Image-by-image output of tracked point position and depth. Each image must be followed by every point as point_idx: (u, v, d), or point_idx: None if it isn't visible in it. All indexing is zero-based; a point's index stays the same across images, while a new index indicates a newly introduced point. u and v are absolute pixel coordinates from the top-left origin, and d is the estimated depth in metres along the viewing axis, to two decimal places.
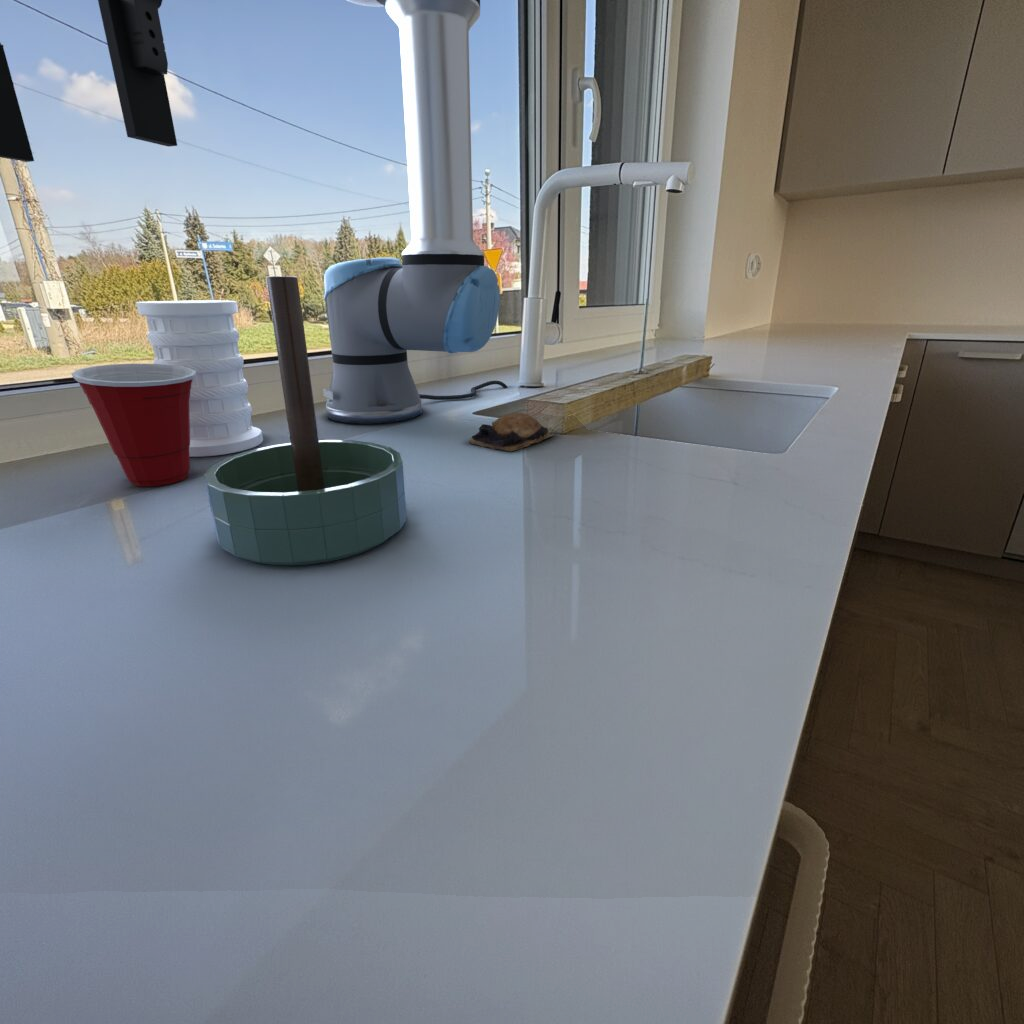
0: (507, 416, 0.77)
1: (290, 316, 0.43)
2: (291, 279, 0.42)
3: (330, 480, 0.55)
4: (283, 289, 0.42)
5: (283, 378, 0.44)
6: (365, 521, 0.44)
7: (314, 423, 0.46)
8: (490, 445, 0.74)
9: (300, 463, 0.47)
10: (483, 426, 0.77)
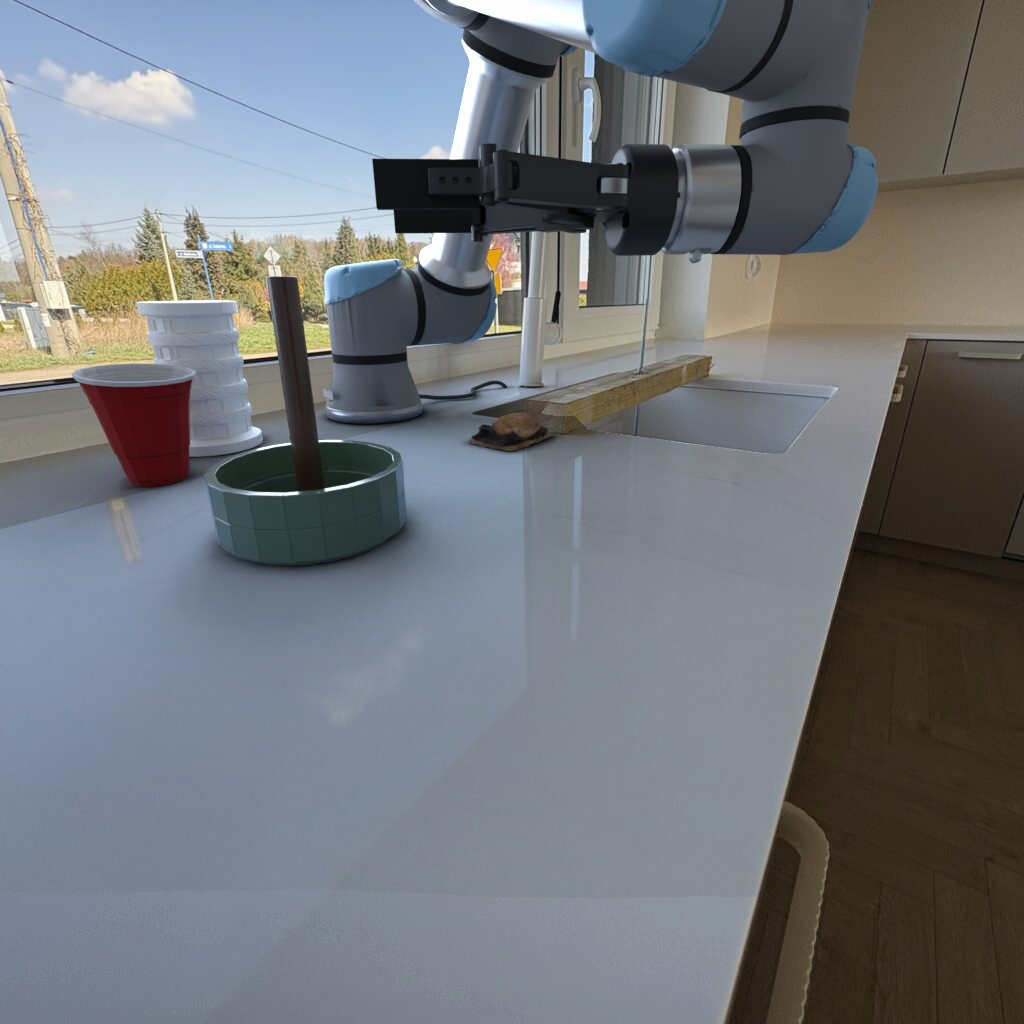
0: (507, 416, 0.77)
1: (290, 316, 0.43)
2: (291, 279, 0.42)
3: (330, 480, 0.55)
4: (283, 289, 0.42)
5: (283, 378, 0.44)
6: (365, 521, 0.44)
7: (314, 423, 0.46)
8: (490, 445, 0.74)
9: (300, 463, 0.47)
10: (483, 426, 0.77)
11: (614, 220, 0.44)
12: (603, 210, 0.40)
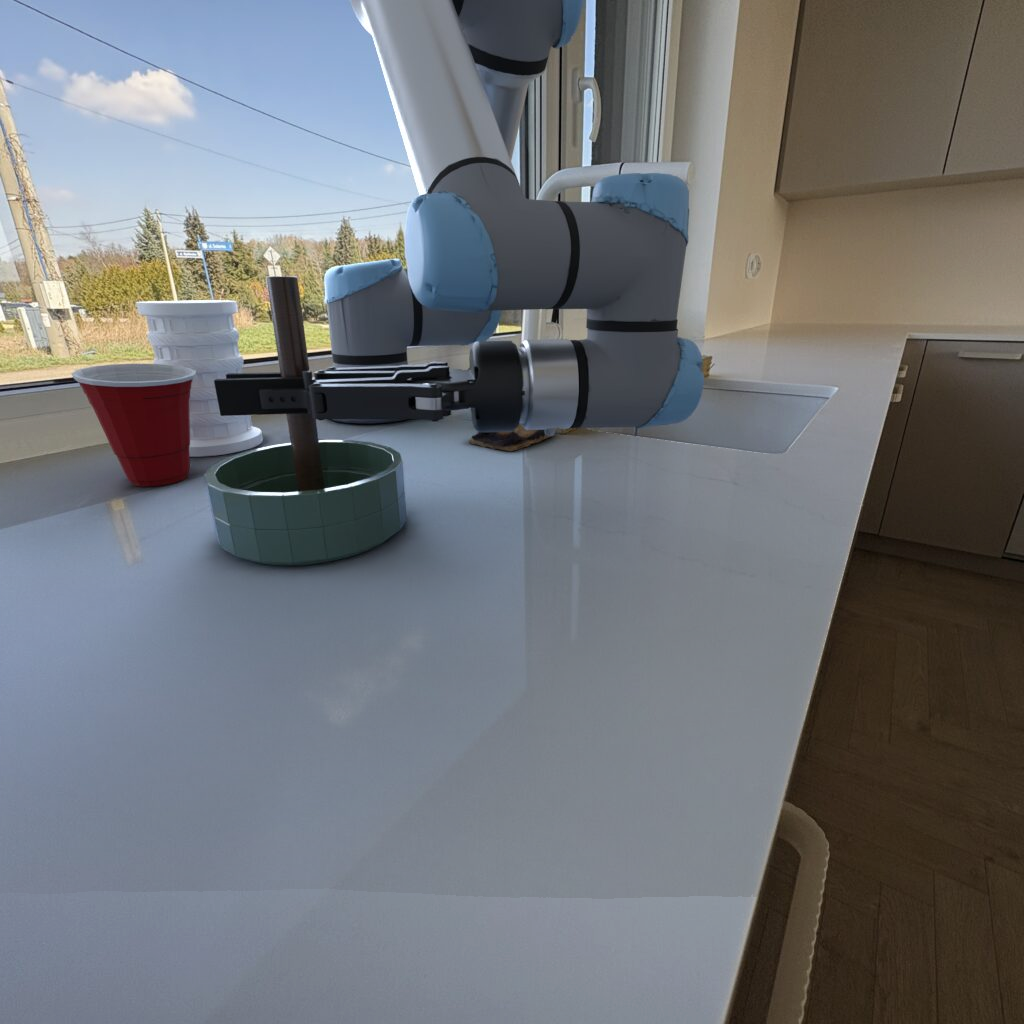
0: None
1: (290, 316, 0.43)
2: (291, 279, 0.42)
3: (330, 480, 0.55)
4: (283, 289, 0.42)
5: None
6: (365, 521, 0.44)
7: (314, 423, 0.46)
8: (490, 445, 0.74)
9: (300, 463, 0.47)
10: None
11: None
12: None
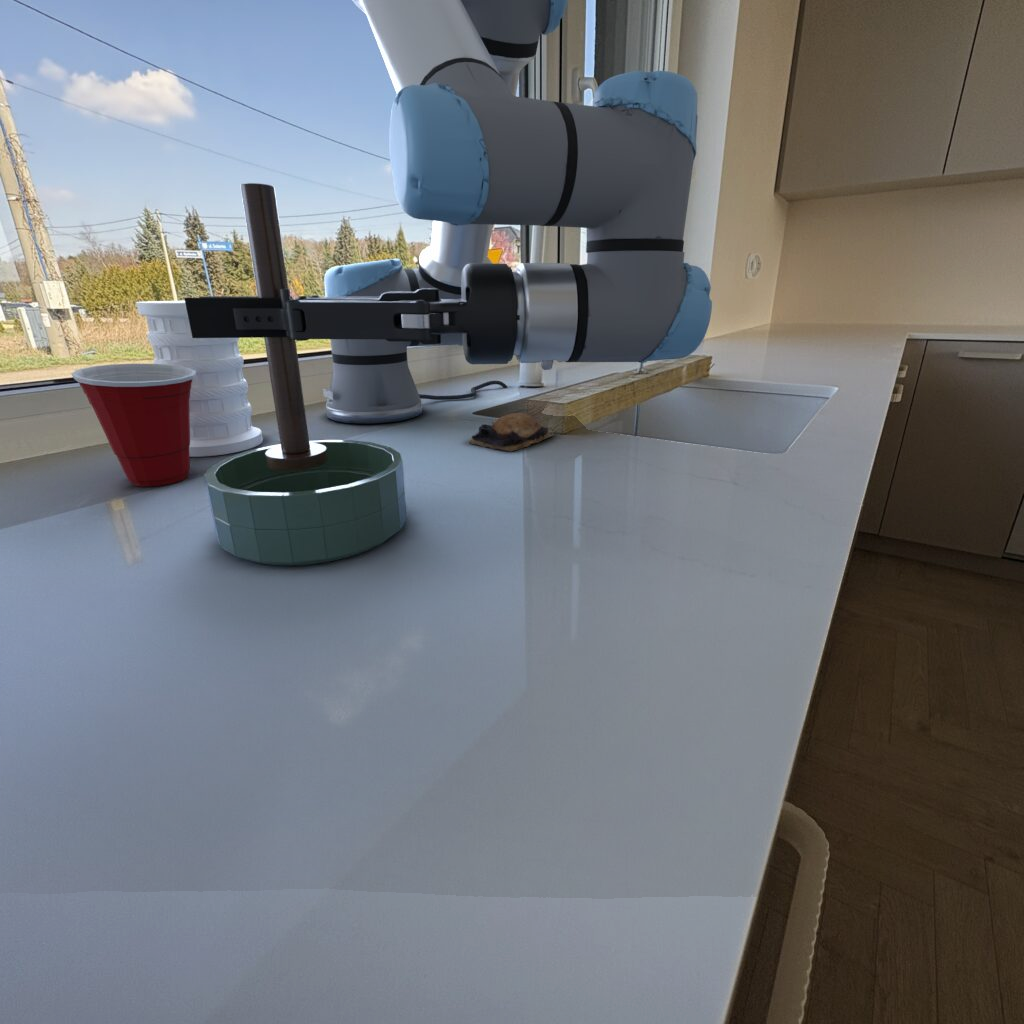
0: (507, 416, 0.77)
1: (266, 228, 0.39)
2: (267, 187, 0.39)
3: (330, 480, 0.55)
4: (258, 198, 0.39)
5: None
6: (365, 521, 0.44)
7: (294, 351, 0.43)
8: (490, 445, 0.74)
9: (279, 395, 0.44)
10: (483, 426, 0.77)
11: None
12: (442, 334, 0.41)
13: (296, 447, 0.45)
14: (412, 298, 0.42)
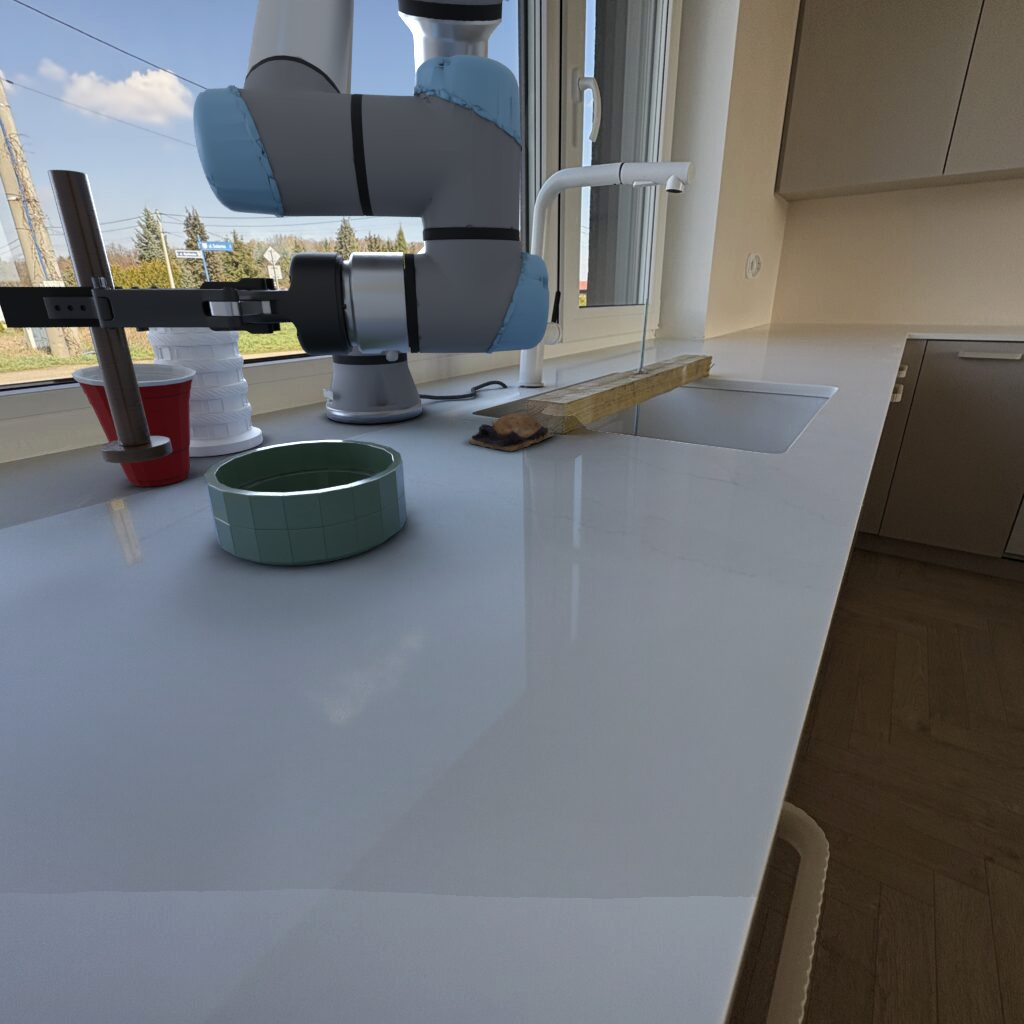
0: (507, 416, 0.77)
1: (77, 216, 0.39)
2: (75, 174, 0.38)
3: (330, 480, 0.55)
4: (66, 185, 0.38)
5: None
6: (365, 521, 0.44)
7: (122, 341, 0.43)
8: (490, 445, 0.74)
9: (108, 386, 0.43)
10: (483, 426, 0.77)
11: None
12: (264, 322, 0.41)
13: (132, 439, 0.45)
14: (235, 287, 0.41)
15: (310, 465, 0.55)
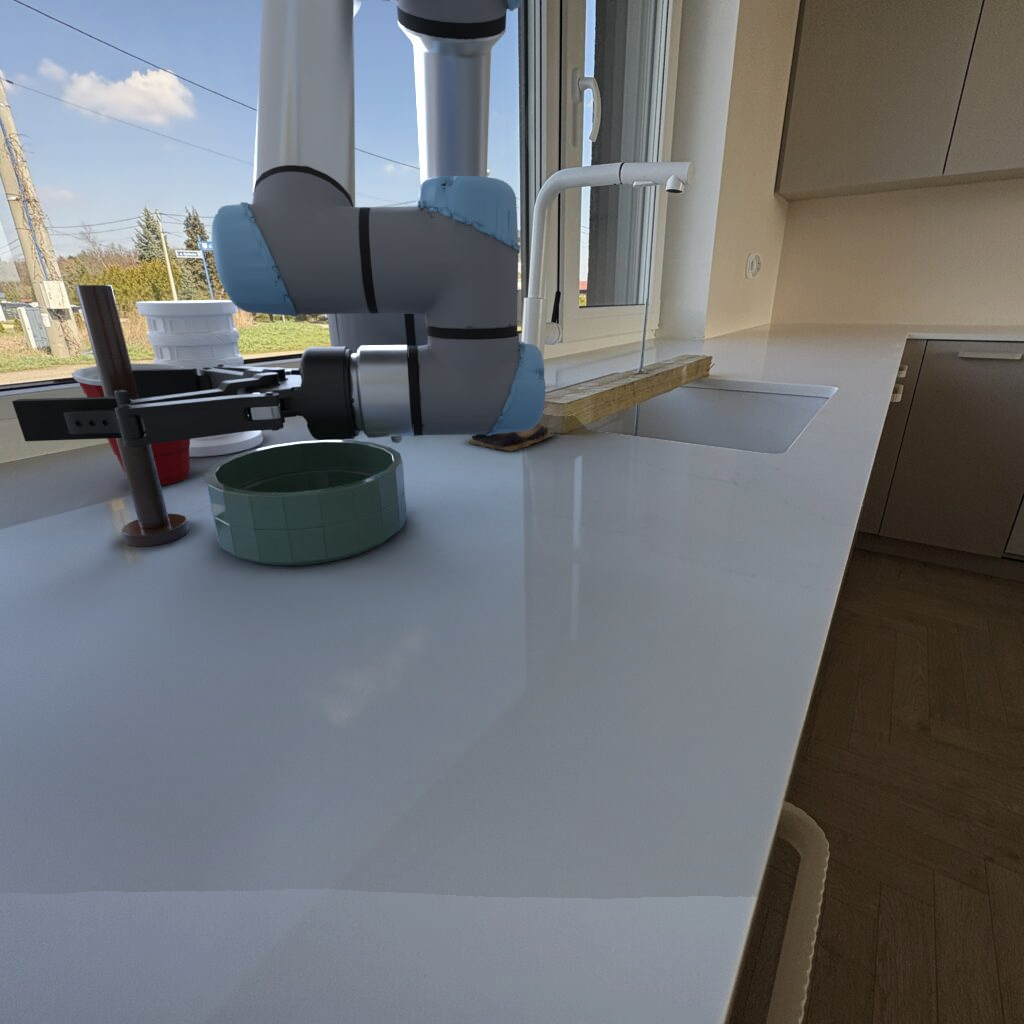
0: None
1: (103, 325, 0.42)
2: (101, 288, 0.41)
3: (330, 480, 0.55)
4: (92, 298, 0.41)
5: (104, 388, 0.43)
6: (365, 521, 0.44)
7: None
8: (490, 445, 0.74)
9: (130, 475, 0.46)
10: None
11: None
12: None
13: (151, 523, 0.47)
14: None
15: (310, 465, 0.55)
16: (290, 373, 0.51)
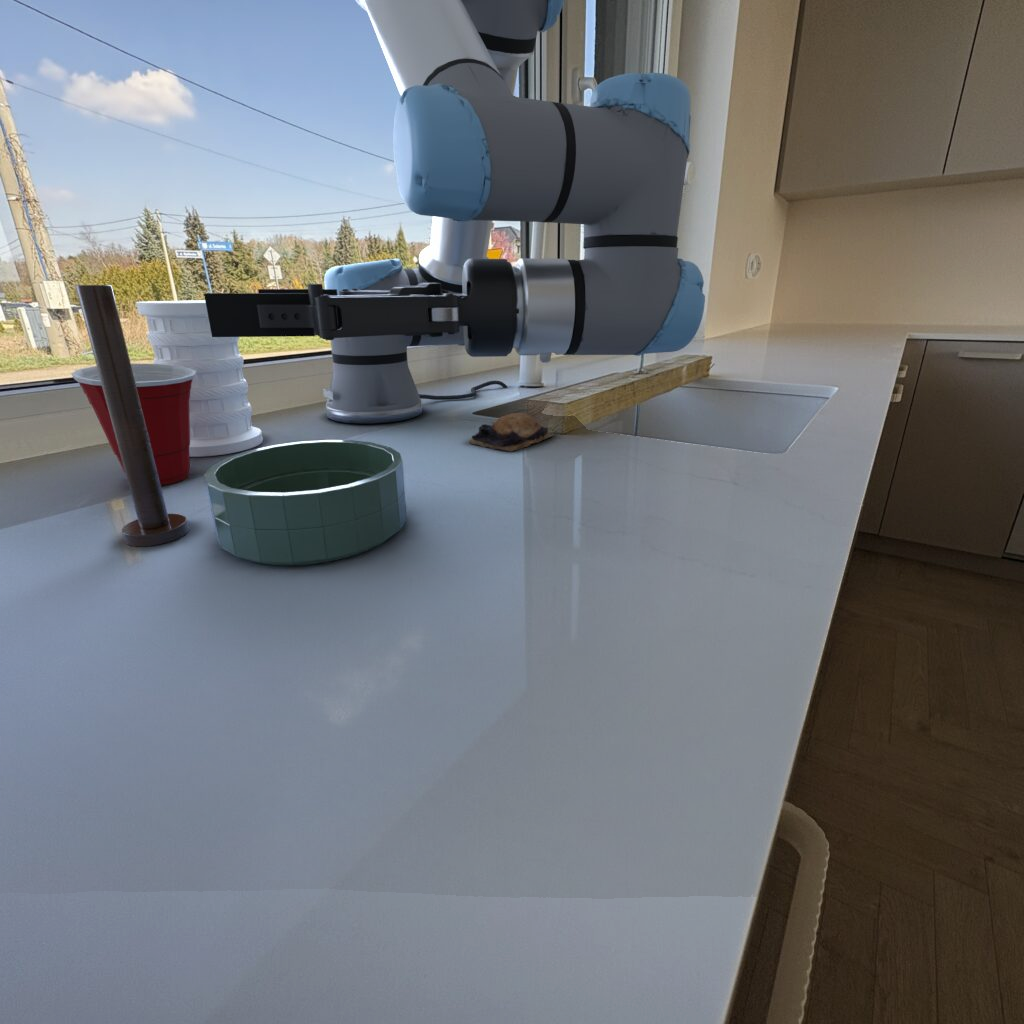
0: (507, 416, 0.77)
1: (103, 325, 0.42)
2: (101, 288, 0.41)
3: (330, 480, 0.55)
4: (92, 298, 0.41)
5: (104, 388, 0.43)
6: (365, 521, 0.44)
7: (143, 434, 0.45)
8: (490, 445, 0.74)
9: (130, 475, 0.46)
10: (483, 426, 0.77)
11: (465, 325, 0.46)
12: None
13: (151, 523, 0.47)
14: None
15: (310, 465, 0.55)
16: None
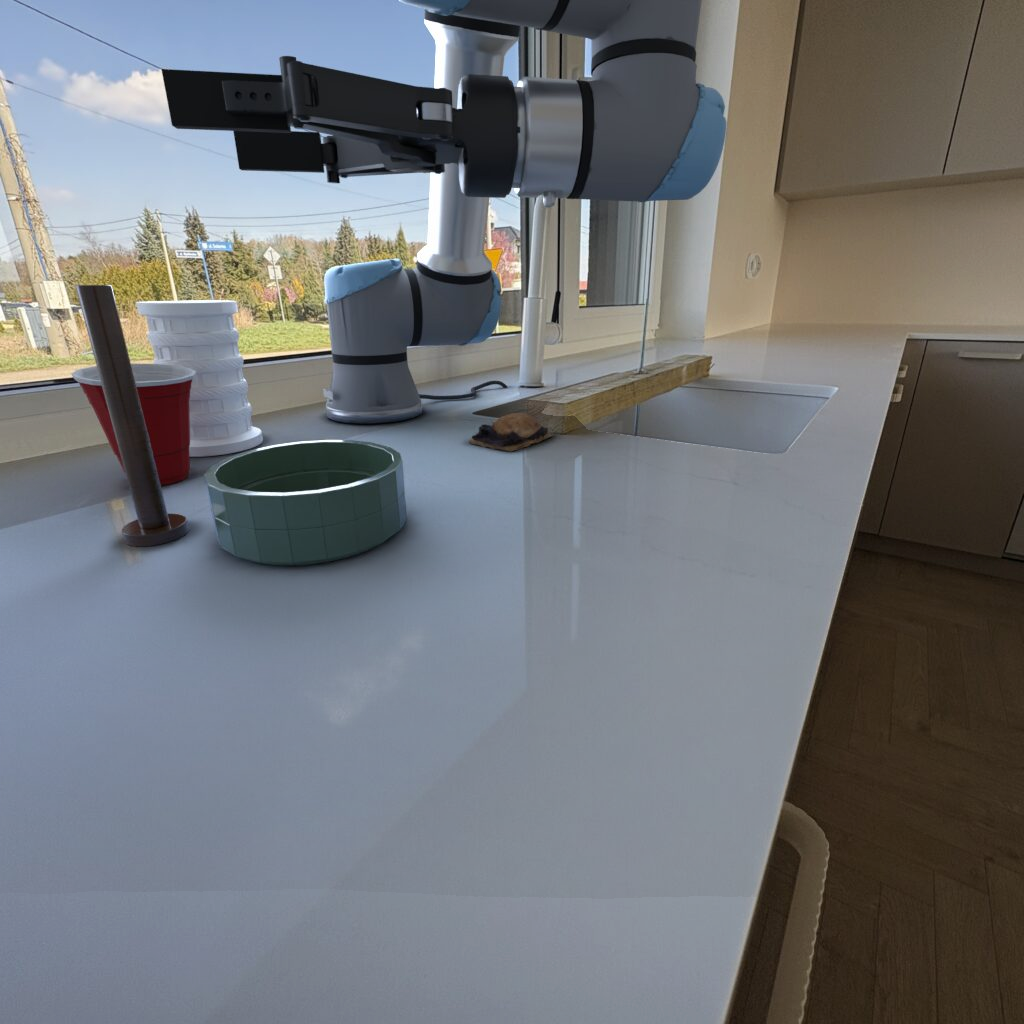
0: (507, 416, 0.77)
1: (103, 325, 0.42)
2: (101, 288, 0.41)
3: (330, 480, 0.55)
4: (92, 298, 0.41)
5: (104, 388, 0.43)
6: (365, 521, 0.44)
7: (143, 434, 0.45)
8: (490, 445, 0.74)
9: (130, 475, 0.46)
10: (483, 426, 0.77)
11: (461, 157, 0.42)
12: (437, 142, 0.38)
13: (151, 523, 0.47)
14: None
15: (310, 465, 0.55)
16: None
